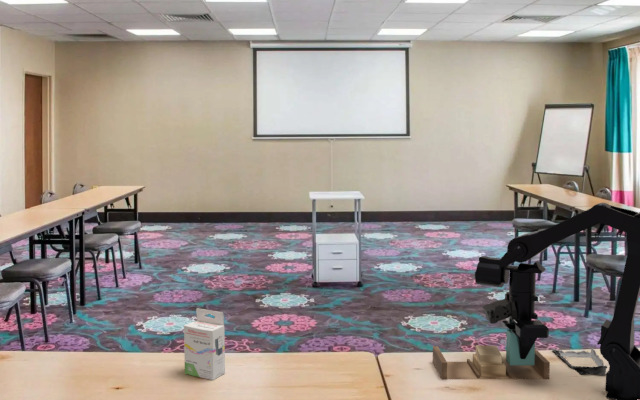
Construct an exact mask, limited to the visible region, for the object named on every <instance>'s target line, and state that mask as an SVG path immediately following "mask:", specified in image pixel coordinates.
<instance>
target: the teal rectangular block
mask: <svg viewBox="0 0 640 400" xmlns="http://www.w3.org/2000/svg"><path fill="white" fill-rule="evenodd" d="M511 330H515V329H509V328H508V329H506V338H505V339H506V344H505V345H506V346H505V362H507V363H508V364H509V365H534V359H535V349H536V342H535V343H534V344H533V346H532V348H531V350H530V351H529V353H528V355H527V357H526V358H525V359H521V358H520V354H519V347H518V339H517V336H516V335H515V334H514V333H513V332H512V331H511Z"/></svg>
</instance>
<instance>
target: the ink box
mask: <svg viewBox="0 0 640 400" xmlns="http://www.w3.org/2000/svg"><path fill="white" fill-rule="evenodd" d="M195 311H196V312H195V313H196V320H195V321H191V322H189V323H186V324H184V325H183V332H184V333H183V341H184V346H183V349H184V353H183V354H184V374H185V375H188V376H193V377H197V378H202V379H206V380H211V381H215V380H216V379H217V378H219V377H220V376H223V375H224V374H225V373H226V357H225V356H226V355H225V353H226V352H225V350H226V349H225V341H226V340H225V321H224V320H225V319H224V318H225V317H224V313H223V311H216V310H211V309H206V308H205V309H204V308H199V307H197V308H196V309H195ZM209 314H210V315H211V316H214V317H209V316H207V315H209Z"/></svg>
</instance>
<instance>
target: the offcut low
mask: <svg viewBox="0 0 640 400" xmlns="http://www.w3.org/2000/svg"><path fill="white" fill-rule="evenodd" d="M472 362H473V365H474V367H475V368H476V370H477V371H478V373H479V374H480V375H481V377H506V366H505V364H504V363H503V362H504V361H502V365H480V364H479V361H478V359H477V357H476V353H473V354H472Z"/></svg>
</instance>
